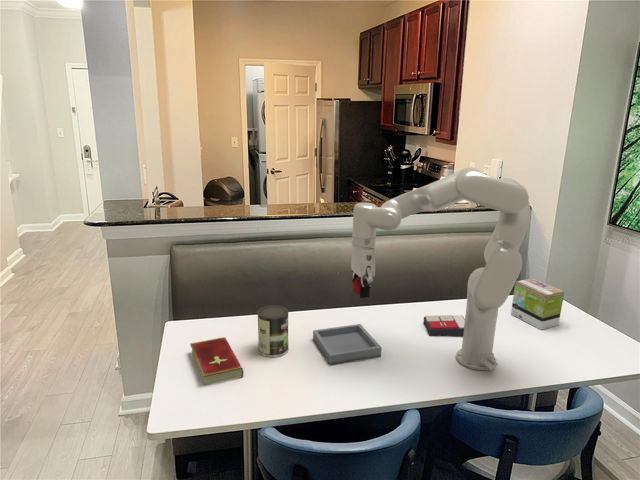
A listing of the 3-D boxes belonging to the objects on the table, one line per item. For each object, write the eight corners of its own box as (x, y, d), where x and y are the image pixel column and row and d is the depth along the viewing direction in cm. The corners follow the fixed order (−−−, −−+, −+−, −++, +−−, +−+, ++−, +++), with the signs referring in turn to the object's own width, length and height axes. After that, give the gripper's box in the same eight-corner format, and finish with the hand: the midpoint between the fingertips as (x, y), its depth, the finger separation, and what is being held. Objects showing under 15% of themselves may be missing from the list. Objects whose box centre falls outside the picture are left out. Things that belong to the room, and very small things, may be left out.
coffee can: (292, 344, 162) (292, 306, 158) (283, 359, 152) (283, 319, 148) (263, 340, 164) (262, 303, 160) (253, 355, 154) (252, 316, 150)
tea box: (509, 314, 188) (514, 280, 183) (527, 310, 192) (532, 277, 188) (540, 330, 174) (546, 294, 170) (559, 326, 179) (565, 290, 174)
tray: (381, 356, 154) (381, 347, 153) (329, 365, 149) (330, 355, 148) (359, 332, 171) (360, 323, 170) (312, 339, 165) (313, 330, 164)
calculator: (423, 314, 179) (462, 313, 178) (423, 324, 180) (462, 323, 180) (429, 327, 168) (471, 326, 168) (429, 338, 169) (470, 337, 169)
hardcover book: (226, 347, 160) (226, 335, 159) (243, 378, 142) (243, 366, 141) (190, 354, 155) (190, 342, 154) (203, 387, 137) (203, 375, 136)
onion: (362, 301, 151) (364, 278, 149) (348, 297, 154) (349, 274, 152) (372, 296, 156) (373, 274, 153) (357, 291, 159) (359, 269, 157)
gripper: (385, 248, 143) (381, 302, 148) (363, 233, 159) (360, 283, 164) (363, 250, 141) (359, 305, 146) (343, 234, 156) (340, 284, 161)
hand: (360, 292), depth 155 cm, fingers closed on onion, 5 cm apart
